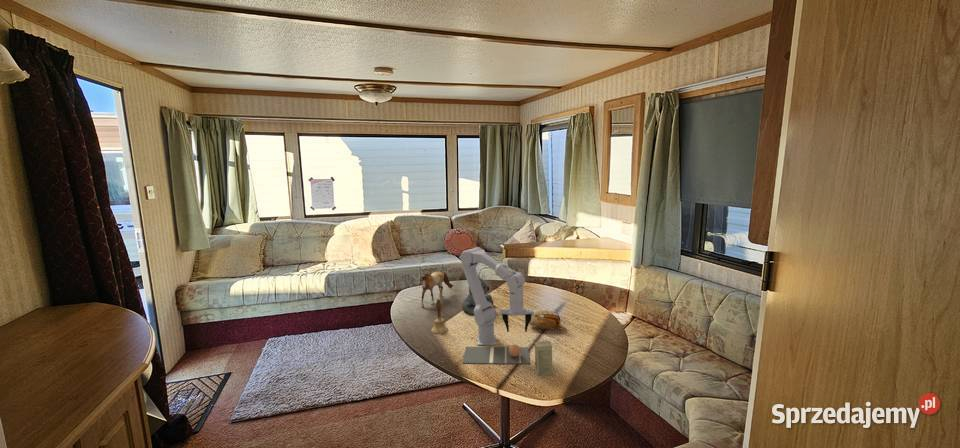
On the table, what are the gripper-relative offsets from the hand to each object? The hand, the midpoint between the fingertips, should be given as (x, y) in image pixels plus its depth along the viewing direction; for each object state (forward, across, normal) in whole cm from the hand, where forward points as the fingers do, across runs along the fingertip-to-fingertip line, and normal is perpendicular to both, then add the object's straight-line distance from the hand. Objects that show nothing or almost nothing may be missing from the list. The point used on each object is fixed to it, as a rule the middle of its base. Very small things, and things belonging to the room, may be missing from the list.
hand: (516, 330), depth 168 cm
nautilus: (+10, +16, +24) cm, 30 cm away
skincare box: (+10, +10, -16) cm, 21 cm away
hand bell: (+10, -38, +22) cm, 45 cm away
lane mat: (+10, -9, -3) cm, 14 cm away
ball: (+7, -1, -4) cm, 8 cm away
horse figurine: (+10, -45, +61) cm, 76 cm away
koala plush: (+10, -21, +48) cm, 53 cm away
